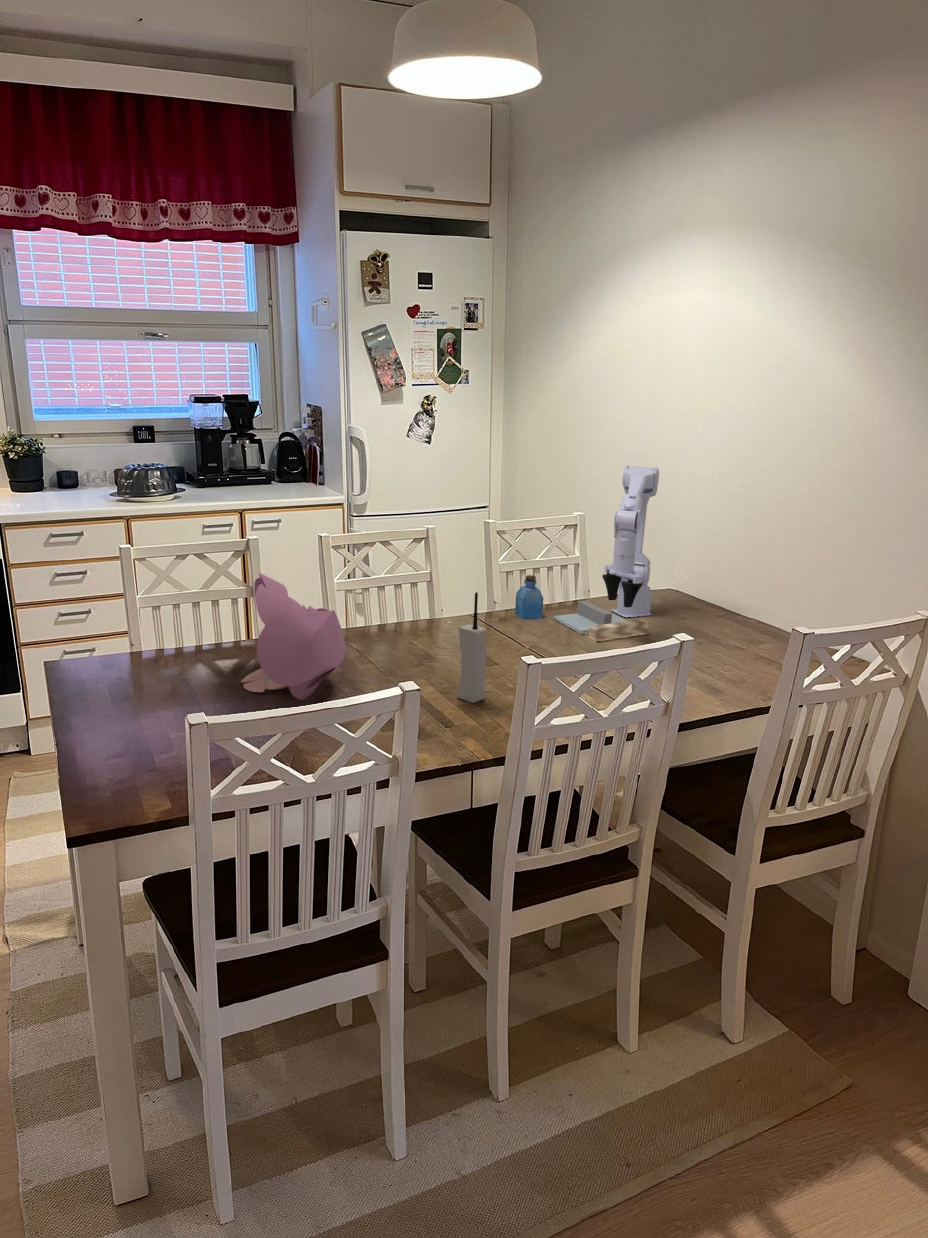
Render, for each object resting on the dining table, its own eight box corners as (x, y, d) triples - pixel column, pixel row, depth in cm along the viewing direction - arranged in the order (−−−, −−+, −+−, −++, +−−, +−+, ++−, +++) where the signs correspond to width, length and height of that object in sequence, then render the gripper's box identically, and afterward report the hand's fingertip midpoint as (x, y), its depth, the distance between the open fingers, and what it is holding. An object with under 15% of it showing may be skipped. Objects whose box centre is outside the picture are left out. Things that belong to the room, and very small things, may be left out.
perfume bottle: (515, 613, 273) (517, 574, 270) (534, 612, 275) (536, 573, 272) (522, 619, 268) (524, 579, 264) (542, 618, 269) (544, 578, 266)
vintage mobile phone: (467, 693, 210) (470, 588, 203) (484, 699, 207) (488, 592, 200) (456, 698, 208) (460, 591, 200) (473, 703, 205) (477, 595, 197)
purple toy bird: (227, 686, 223) (195, 576, 215) (316, 653, 234) (288, 547, 226) (277, 724, 194) (242, 598, 185) (376, 685, 205) (346, 564, 196)
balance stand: (605, 614, 276) (606, 598, 274) (634, 628, 263) (636, 611, 261) (553, 619, 268) (554, 603, 267) (580, 634, 255) (582, 617, 254)
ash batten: (640, 632, 260) (641, 619, 259) (647, 635, 258) (648, 622, 256) (588, 640, 252) (589, 626, 251) (594, 643, 249) (595, 629, 248)
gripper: (597, 550, 253) (593, 597, 257) (627, 561, 240) (622, 611, 244) (618, 548, 256) (614, 596, 259) (649, 559, 243) (644, 609, 247)
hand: (620, 603), depth 252 cm, fingers open, 7 cm apart
